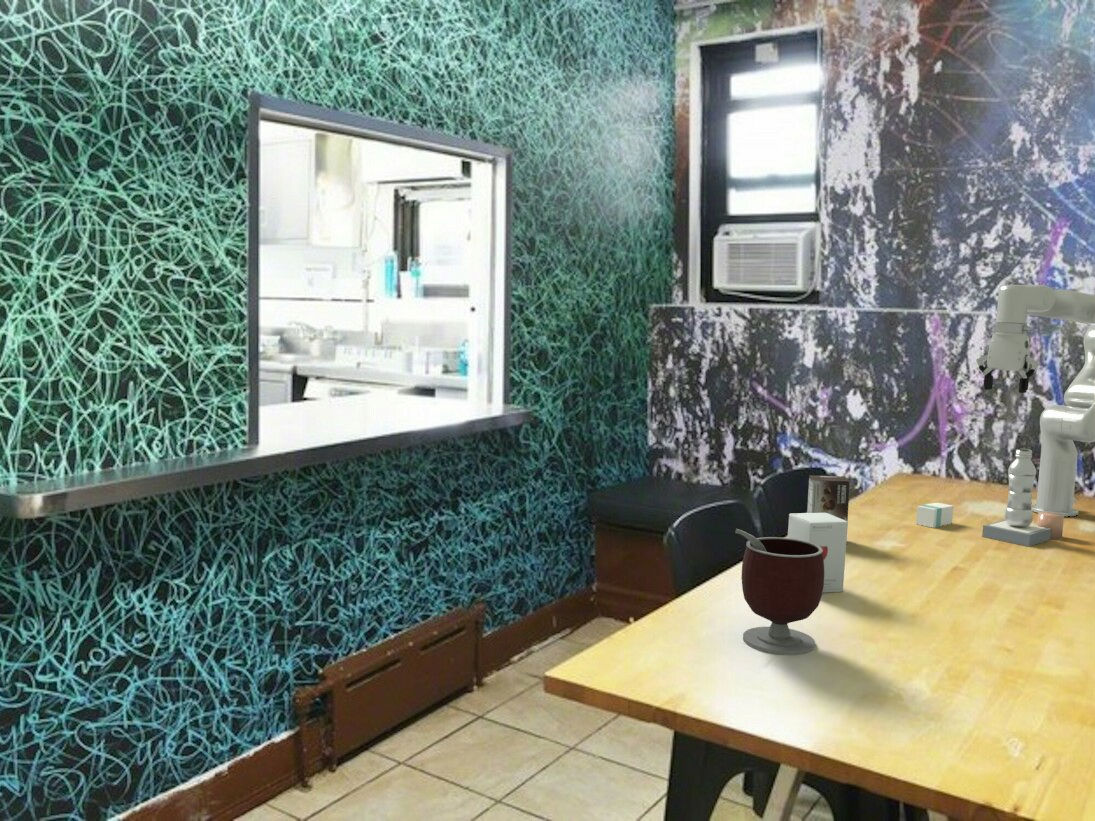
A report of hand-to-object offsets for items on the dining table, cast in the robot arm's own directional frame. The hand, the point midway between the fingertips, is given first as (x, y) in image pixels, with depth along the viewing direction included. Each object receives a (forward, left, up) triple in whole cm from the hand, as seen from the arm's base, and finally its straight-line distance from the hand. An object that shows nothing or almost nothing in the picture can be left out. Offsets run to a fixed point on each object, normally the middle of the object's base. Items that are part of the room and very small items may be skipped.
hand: (1005, 391), depth 271 cm
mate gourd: (+135, +27, -36) cm, 142 cm away
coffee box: (+65, -11, -36) cm, 75 cm away
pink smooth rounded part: (+9, +19, -36) cm, 42 cm away
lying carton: (+22, -6, -36) cm, 43 cm away
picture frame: (+19, +15, -36) cm, 44 cm away
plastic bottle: (+19, +15, -33) cm, 41 cm away
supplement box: (+101, +11, -37) cm, 108 cm away
